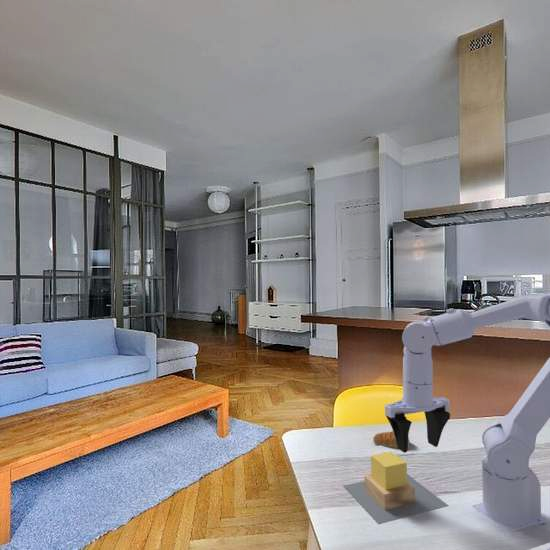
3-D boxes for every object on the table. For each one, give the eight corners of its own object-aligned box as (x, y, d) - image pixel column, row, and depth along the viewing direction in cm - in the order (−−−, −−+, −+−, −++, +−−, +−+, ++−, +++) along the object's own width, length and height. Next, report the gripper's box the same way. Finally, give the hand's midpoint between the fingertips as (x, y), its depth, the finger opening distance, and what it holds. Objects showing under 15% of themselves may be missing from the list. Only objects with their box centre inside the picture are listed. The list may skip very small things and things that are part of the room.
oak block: (392, 483, 80) (392, 469, 80) (414, 502, 73) (414, 487, 73) (364, 490, 78) (364, 475, 78) (384, 510, 71) (384, 494, 71)
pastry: (372, 448, 98) (372, 434, 98) (374, 438, 104) (373, 424, 104) (410, 453, 95) (410, 438, 95) (409, 442, 102) (409, 428, 102)
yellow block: (391, 472, 79) (391, 451, 79) (406, 485, 74) (406, 462, 74) (371, 477, 77) (370, 455, 77) (385, 490, 72) (385, 467, 73)
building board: (405, 474, 85) (405, 472, 85) (448, 508, 72) (448, 505, 72) (342, 488, 79) (342, 485, 79) (378, 527, 67) (378, 523, 67)
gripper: (432, 373, 82) (432, 434, 82) (375, 379, 77) (376, 444, 77) (457, 381, 75) (457, 448, 75) (397, 388, 70) (397, 460, 70)
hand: (417, 447), depth 76 cm, fingers open, 7 cm apart
